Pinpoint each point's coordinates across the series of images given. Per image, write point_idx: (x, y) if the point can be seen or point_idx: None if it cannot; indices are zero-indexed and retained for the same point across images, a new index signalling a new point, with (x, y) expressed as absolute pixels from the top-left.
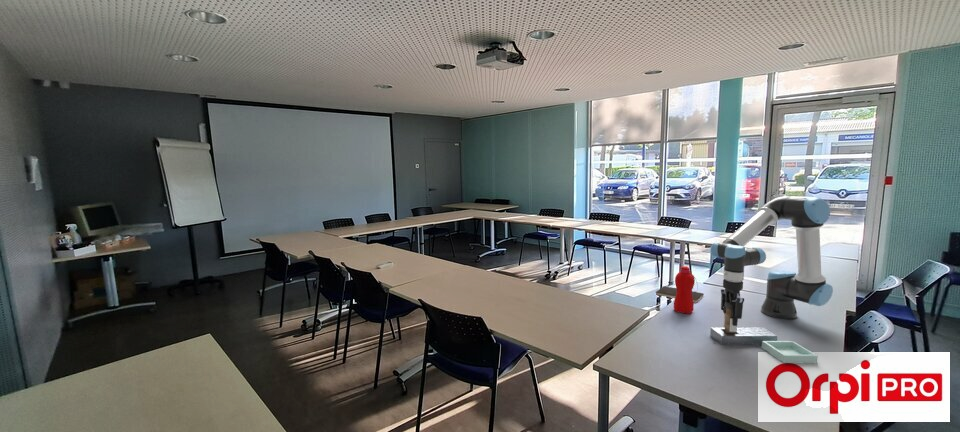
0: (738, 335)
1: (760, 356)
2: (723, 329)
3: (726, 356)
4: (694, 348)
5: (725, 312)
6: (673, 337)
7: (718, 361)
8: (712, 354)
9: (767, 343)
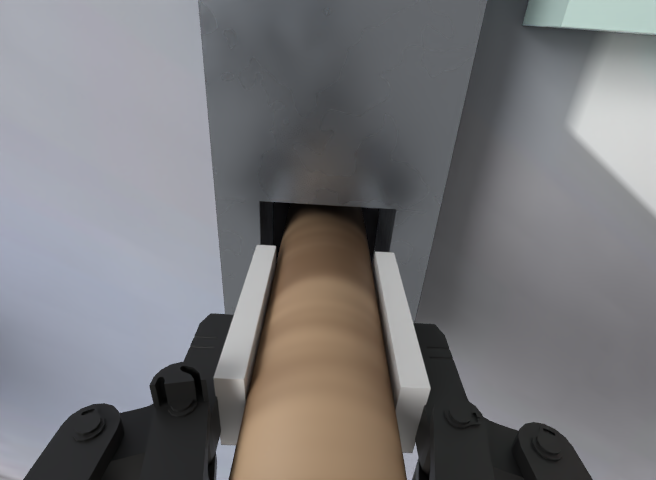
0: (421, 238)
1: (641, 168)
2: None
3: (545, 369)
4: (415, 452)
5: (214, 449)
6: None
7: (575, 426)
8: (500, 415)
9: (637, 10)
